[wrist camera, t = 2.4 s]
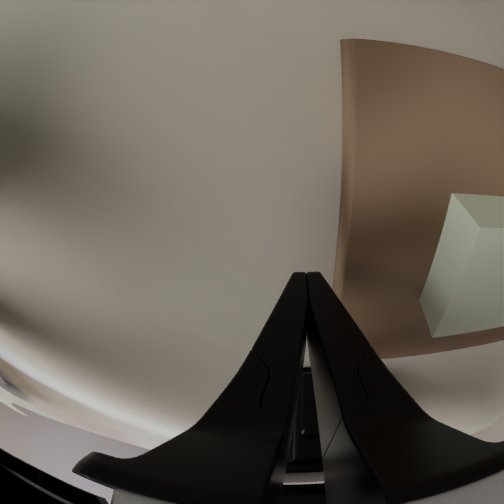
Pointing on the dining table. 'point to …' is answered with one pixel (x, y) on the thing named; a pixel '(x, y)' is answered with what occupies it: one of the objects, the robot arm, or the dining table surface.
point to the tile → (467, 268)
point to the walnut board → (409, 181)
